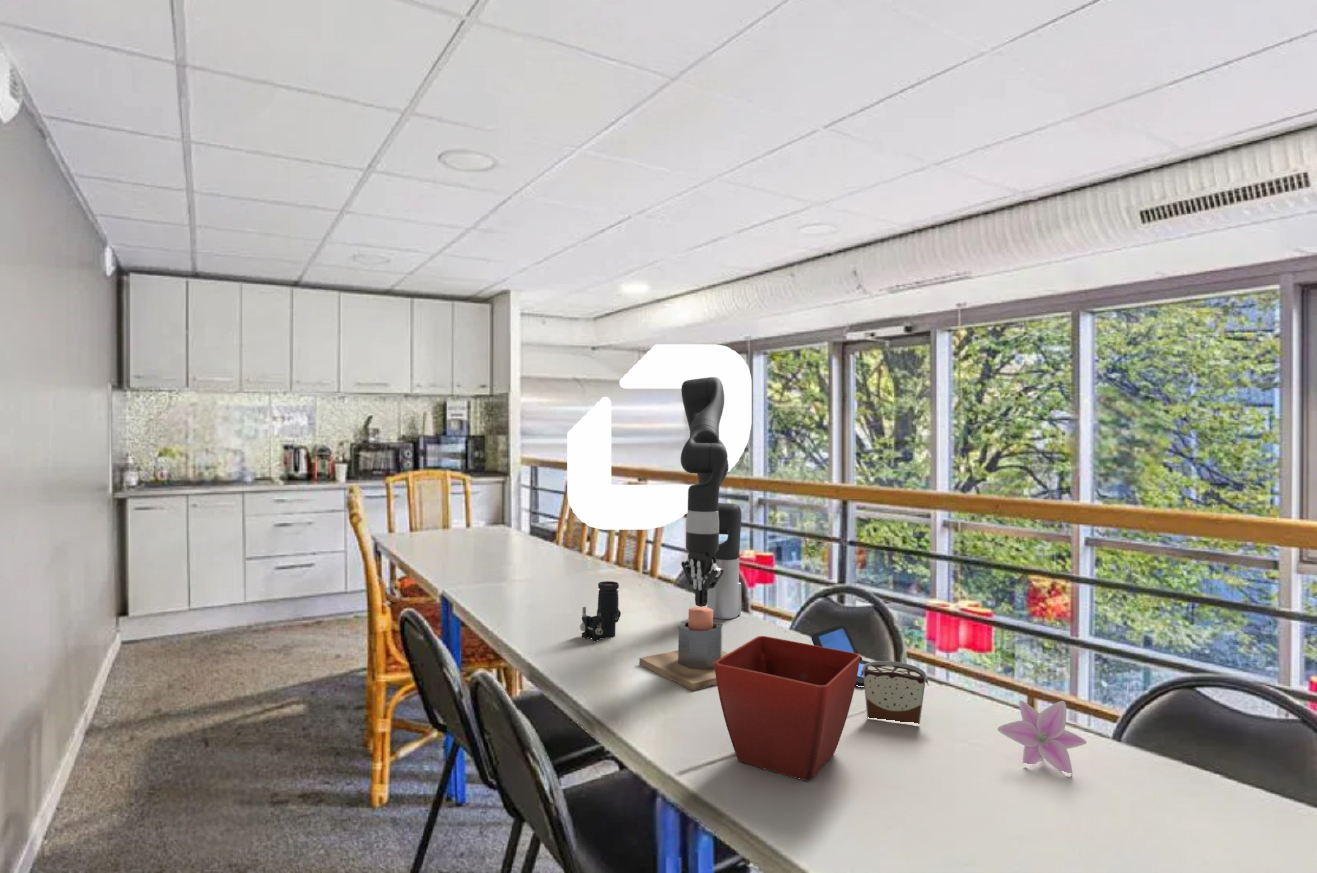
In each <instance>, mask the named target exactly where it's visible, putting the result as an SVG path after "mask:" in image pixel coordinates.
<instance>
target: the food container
mask: <svg viewBox="0 0 1317 873" xmlns="http://www.w3.org/2000/svg"><path fill="white" fill-rule="evenodd" d="M868 662H869V663H867V664H865V665H864V666H863V668H862V671H861V675H860V677H861V676H862V675H863V676H864V687H863V688H864V696H865V707H866V709H865V711H866V719H867V718H868V717H869V718H877V719H886V720H895V721H900V722H914V723H918V724H921V717H922V710H923V701H924V694H925V686H926V684H927V686H929V685H930V684H929V680H928V675H927V674H926V672H925V670H924V669H922V668H920V667H917V666H915V665H912V664H909V663H905V662H899V661H891V660H890V661H889V660H877V661H876V660H875V661H868Z"/></svg>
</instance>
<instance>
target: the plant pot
mask: <svg viewBox="0 0 1317 873" xmlns="http://www.w3.org/2000/svg"><path fill="white" fill-rule="evenodd" d="M860 656H861V655H860V654H859V653H858V654H856V653H852V652H847V651H841V650H836V649H831V648H826V647H820V646H815V645H814V644H809V643H804V642H798V641H794V640H793V641H792V640H788V639H782V638H778V637H771V636H766V635H761V636H760V635H759V636H756V637H754V638H753V639H751V640H750V641H748V642H746V643H744V644H742V645H741V646H739V647H738V648H735V649H734V650H732V651H730V652H729V654H727V655H725V656H723V657H722V658H720V659H718V660H716V661H715V662H714V666H715V674H716V682H717V685H716V687H717V690H718V691H717V692H718V696H719V701H720V702H719V703H720V706H721V710H722V715H723V718H724V722H725V725H726V730H727V732H728V735H729V738H730V742H731V745H732V748H733V750H734V753H735V755H736V759H737V760H738V761H739V762H740V763H744V764H747V765H751V766H755V767H757V768H761V769H765V770H767V769H768V771H771V772H774V773H776V774H777V773H779V774H781V773H782V774H781V775H784V774H785V776H788V777H791V776H792V778H794V777H795V779H798V778H800V779H799V780H802V779H803V780H802V781H811V780H813V779H814V778H815V776H816V775H817V774H818V773H819V772H818V771H820V770H822V768H823V767H824V766H825V764H827V763H828V761H829V760H830V759H831V757H832V756H833V755H834V754H835V753H836V751H837V750H836V749H837V747H838V745H839V742H840V740H841V736H842V734H843V731H844V728H845V724H846V722H847V719H848V716H849V711H850V709H851V708H850V707H851V705H852V702H853V696H854V692H855V688H856V686H855V684H856V679H857V674H858V669H859V662H860ZM812 778H813V779H812ZM810 779H811V780H810Z"/></svg>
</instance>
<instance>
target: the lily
mask: <svg viewBox="0 0 1317 873" xmlns="http://www.w3.org/2000/svg"><path fill="white" fill-rule="evenodd" d="M1018 704H1019V711H1020V716H1021V718H1022V720H1016V721H1012V722H1008V723H1005V724H1002V725H1000V726H998V727H997V731H998V732H999V733H1000V734H1002V735H1004V736H1005V737H1006V738H1008V739H1011V740H1013V741H1014V742H1016V743H1018V744H1020V745H1022V746H1024V748H1023V754H1022V764H1023V763H1027V764H1034V765H1036V764H1037V763H1039V762H1040V761H1042V760H1045V761H1046V762H1047V763H1049V765H1051V766H1052V767H1053V768H1054V769H1056V770H1057V771H1058V772H1059V771H1064V772H1067V773H1072V774H1073V769H1072V762H1071V759H1070V758H1071V757H1070V754H1069V751H1068V750H1069V749H1073V748H1077V747H1082V746H1084V745H1086V744H1087V740H1086V739H1085V738H1083V737H1081V736H1079V735H1077V734H1075V733H1073V732H1071V731H1069V730H1066V725H1067V704H1066V701H1065V700H1060V701H1057V702H1055V703H1053V704H1052V705H1050V706H1048V707H1047V708H1045V709H1043V710H1042V711H1041V712H1040V713H1039V711H1037V710H1036V709H1035V708H1034V707H1032V706H1031V705H1030V704H1028V703H1027V702H1025V701H1024V700H1022V699H1021V700H1019V703H1018Z"/></svg>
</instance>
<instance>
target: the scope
mask: <svg viewBox="0 0 1317 873" xmlns="http://www.w3.org/2000/svg"><path fill="white" fill-rule="evenodd" d="M597 584H598V586H597V587H598V588H597V589H598V595H597V597H598V598H597V611H596V615H593V616H591V615H587V606H583V607H582V615H581V621H582V623H580V626H579V629H580V630H581V631H582V633H581V637H582V638H583V637H584V639H590V638H592V639H591V640H593V641H592V642H594V641H595V642H598V641H597V640H599V641H600V640H601V639H600V638H604V639H610V638H611V637H612V638H615V637H616V623H618V622H619V621H620V617H621V614H622V613H621V611H620V608H619V590H618V589H619V588H620V586H619V585H620V584H619V582H617V581H613V580H612V581H611V580H610V581H609V580H607V581H600V582H598V583H597ZM614 636H615V637H614ZM587 637H589V638H587ZM612 638H611V639H612Z"/></svg>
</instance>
